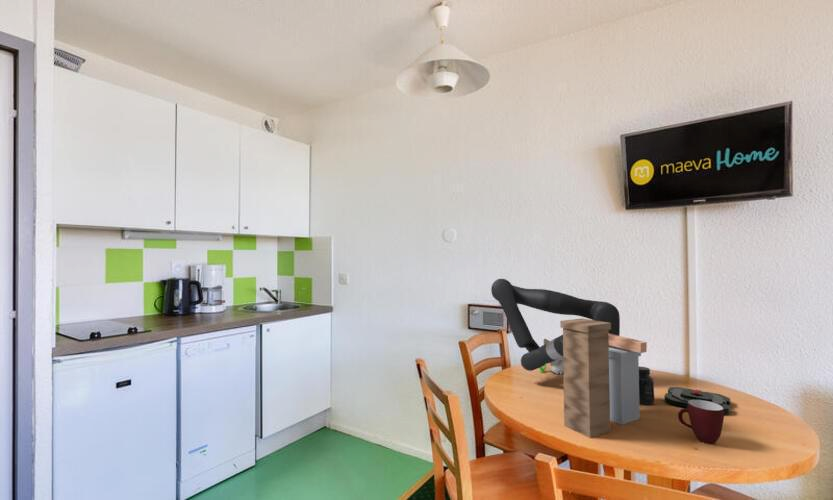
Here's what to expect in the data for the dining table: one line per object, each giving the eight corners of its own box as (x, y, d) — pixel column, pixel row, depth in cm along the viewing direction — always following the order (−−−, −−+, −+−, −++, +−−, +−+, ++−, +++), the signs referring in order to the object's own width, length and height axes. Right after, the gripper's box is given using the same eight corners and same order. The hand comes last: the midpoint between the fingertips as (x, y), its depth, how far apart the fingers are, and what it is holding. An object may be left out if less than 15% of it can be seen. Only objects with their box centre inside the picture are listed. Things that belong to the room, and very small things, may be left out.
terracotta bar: (578, 337, 134) (579, 328, 134) (584, 336, 135) (584, 328, 135) (640, 353, 114) (640, 343, 114) (646, 351, 115) (646, 342, 115)
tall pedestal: (561, 425, 116) (560, 320, 117) (583, 418, 121) (582, 318, 121) (590, 438, 107) (588, 325, 108) (612, 431, 112) (610, 322, 112)
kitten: (543, 375, 165) (542, 341, 165) (535, 369, 175) (535, 336, 175) (576, 375, 165) (576, 341, 166) (567, 369, 175) (567, 336, 176)
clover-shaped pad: (663, 405, 132) (662, 392, 132) (670, 391, 146) (669, 379, 146) (729, 419, 120) (729, 405, 120) (730, 402, 134) (730, 390, 134)
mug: (675, 438, 107) (674, 403, 107) (680, 429, 113) (679, 395, 113) (723, 451, 100) (722, 413, 100) (725, 440, 106) (724, 404, 106)
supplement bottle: (652, 400, 136) (652, 366, 136) (655, 406, 130) (655, 371, 130) (631, 397, 139) (630, 364, 139) (632, 403, 133) (632, 369, 133)
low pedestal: (593, 413, 124) (592, 346, 125) (613, 408, 129) (611, 343, 129) (622, 425, 115) (621, 353, 116) (642, 419, 120) (640, 349, 121)
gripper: (543, 339, 141) (576, 322, 128) (569, 335, 147) (604, 319, 134) (551, 359, 137) (586, 343, 124) (578, 354, 144) (614, 339, 131)
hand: (595, 331), depth 129 cm, fingers open, 3 cm apart
